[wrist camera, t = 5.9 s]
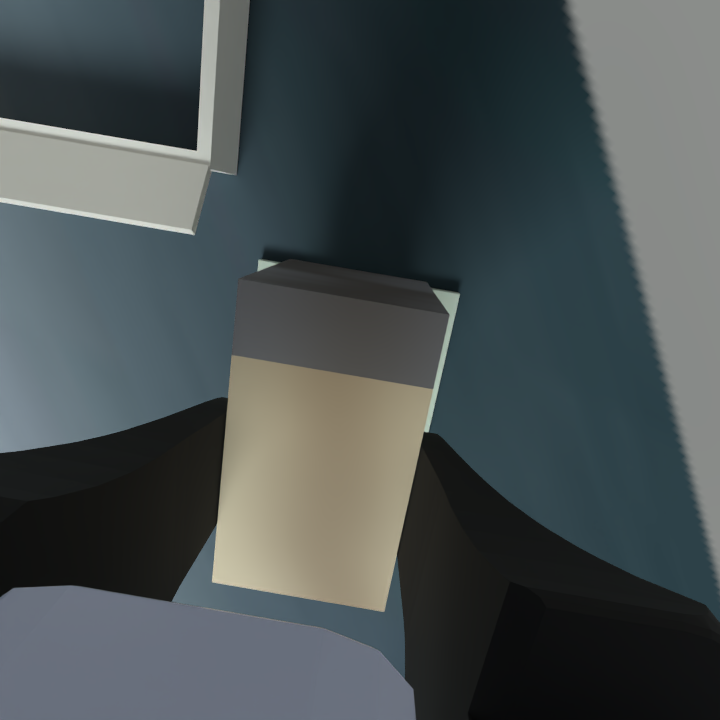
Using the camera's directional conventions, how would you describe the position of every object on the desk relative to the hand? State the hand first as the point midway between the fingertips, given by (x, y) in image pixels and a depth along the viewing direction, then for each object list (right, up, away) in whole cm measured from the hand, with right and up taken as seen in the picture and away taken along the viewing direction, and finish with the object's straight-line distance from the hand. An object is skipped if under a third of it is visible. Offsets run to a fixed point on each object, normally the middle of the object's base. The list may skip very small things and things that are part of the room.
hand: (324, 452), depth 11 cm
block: (0, +2, +3) cm, 4 cm away
